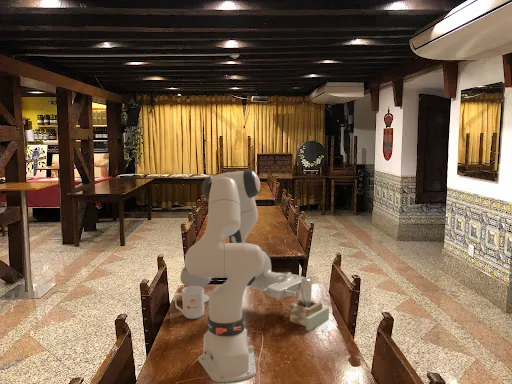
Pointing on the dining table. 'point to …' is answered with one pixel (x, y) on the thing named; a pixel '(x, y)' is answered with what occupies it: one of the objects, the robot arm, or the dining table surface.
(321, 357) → the dining table surface
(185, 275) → the chalice
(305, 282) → the dowel
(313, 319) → the wall
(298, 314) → the socket block
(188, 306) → the mug
